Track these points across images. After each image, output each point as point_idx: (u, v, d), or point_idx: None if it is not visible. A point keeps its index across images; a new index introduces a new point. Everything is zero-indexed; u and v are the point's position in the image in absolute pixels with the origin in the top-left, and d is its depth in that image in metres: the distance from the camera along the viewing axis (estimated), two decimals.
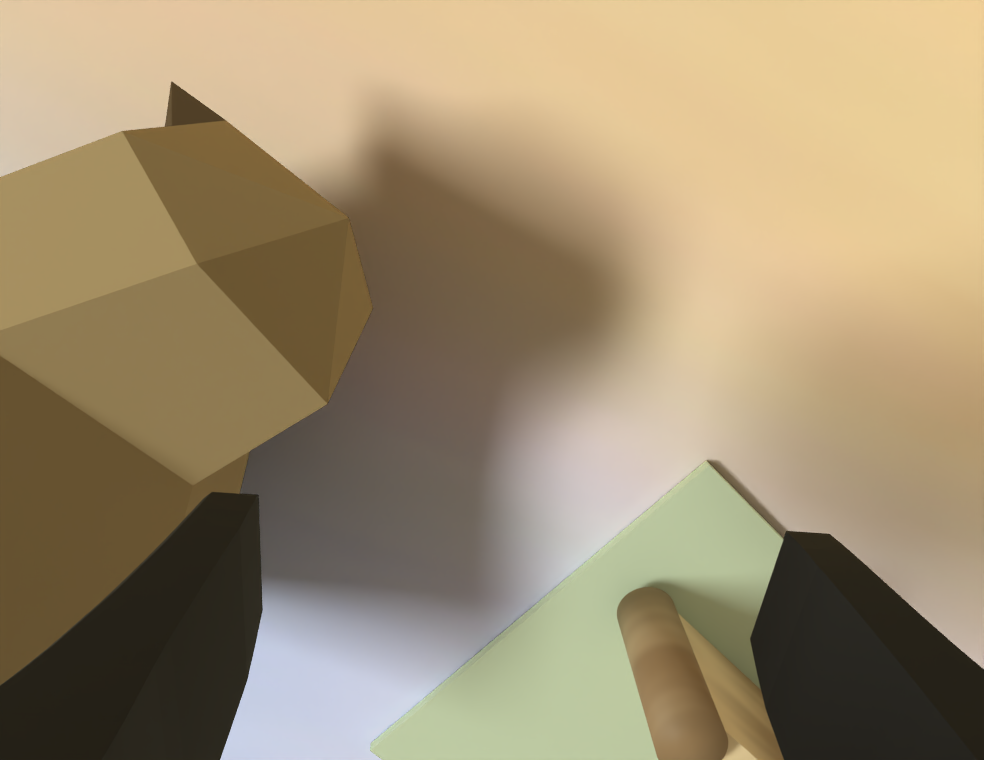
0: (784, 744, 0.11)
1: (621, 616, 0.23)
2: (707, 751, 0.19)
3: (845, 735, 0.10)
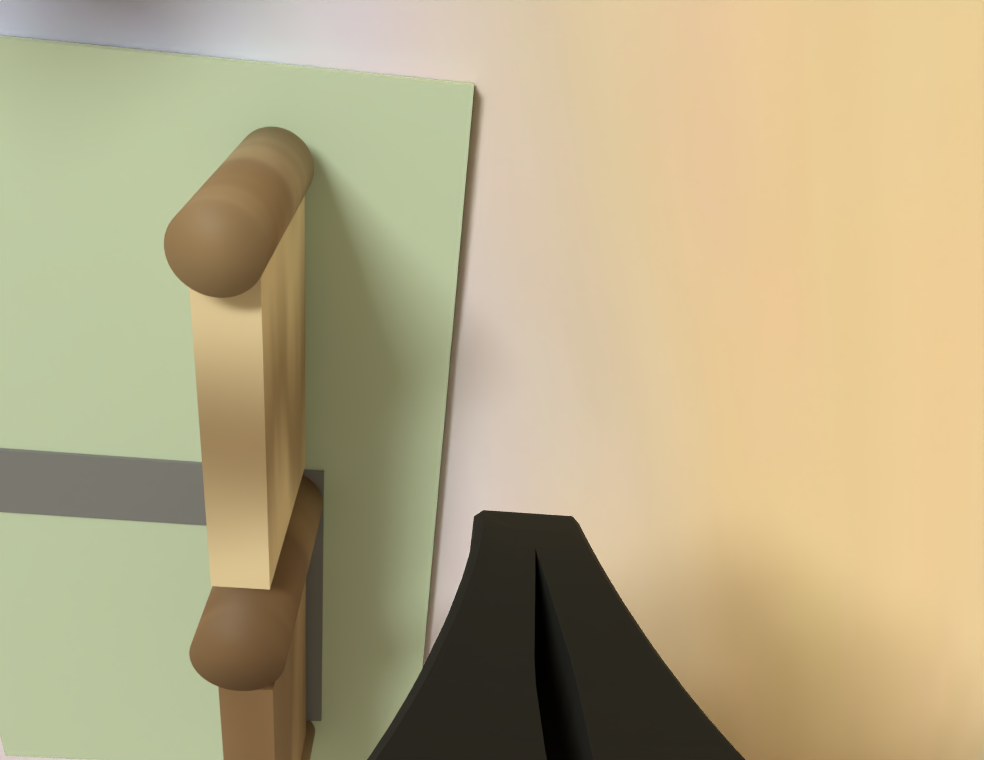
0: None
1: (250, 135, 0.18)
2: (225, 273, 0.14)
3: (542, 719, 0.10)
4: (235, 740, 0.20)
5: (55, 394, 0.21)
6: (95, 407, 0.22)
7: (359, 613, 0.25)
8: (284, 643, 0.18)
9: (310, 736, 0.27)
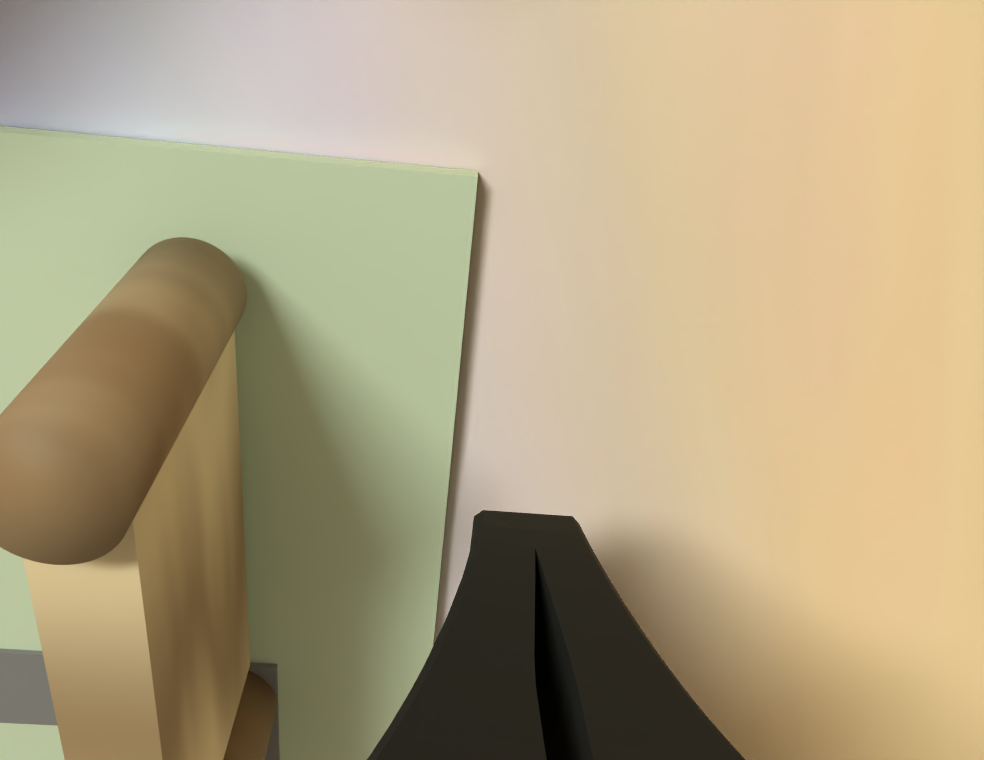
0: None
1: (147, 254, 0.12)
2: (65, 530, 0.09)
3: (542, 719, 0.10)
4: None
5: None
6: None
7: None
8: None
9: None
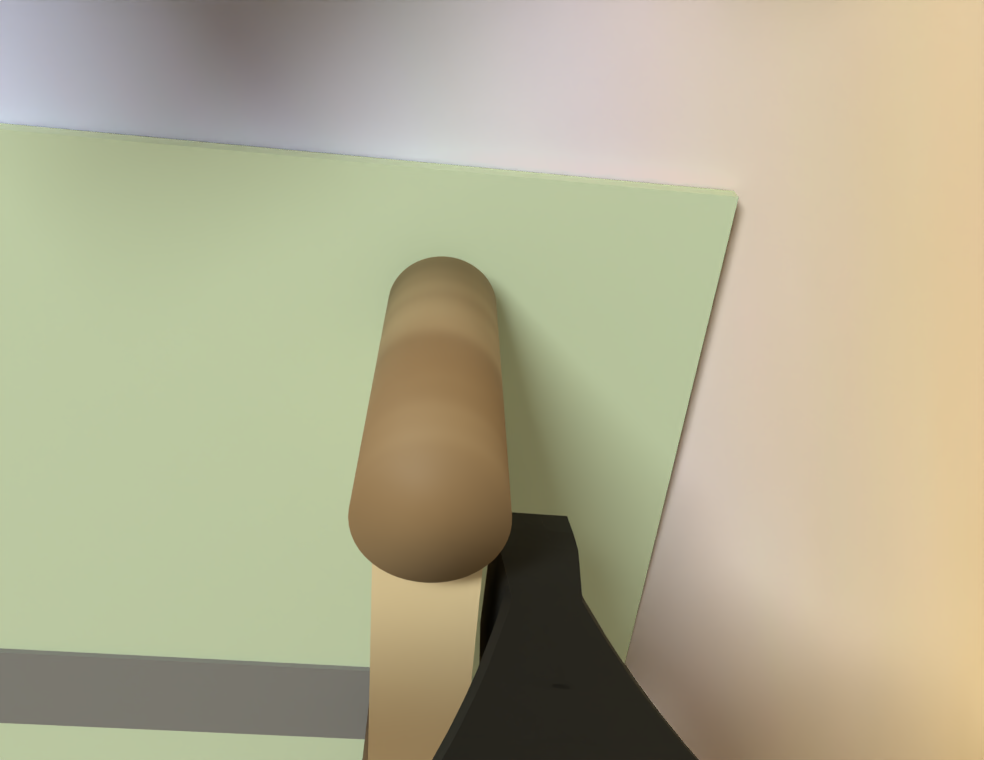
0: None
1: (416, 274, 0.12)
2: (443, 549, 0.09)
3: None
4: None
5: (124, 588, 0.16)
6: (176, 602, 0.16)
7: None
8: None
9: None
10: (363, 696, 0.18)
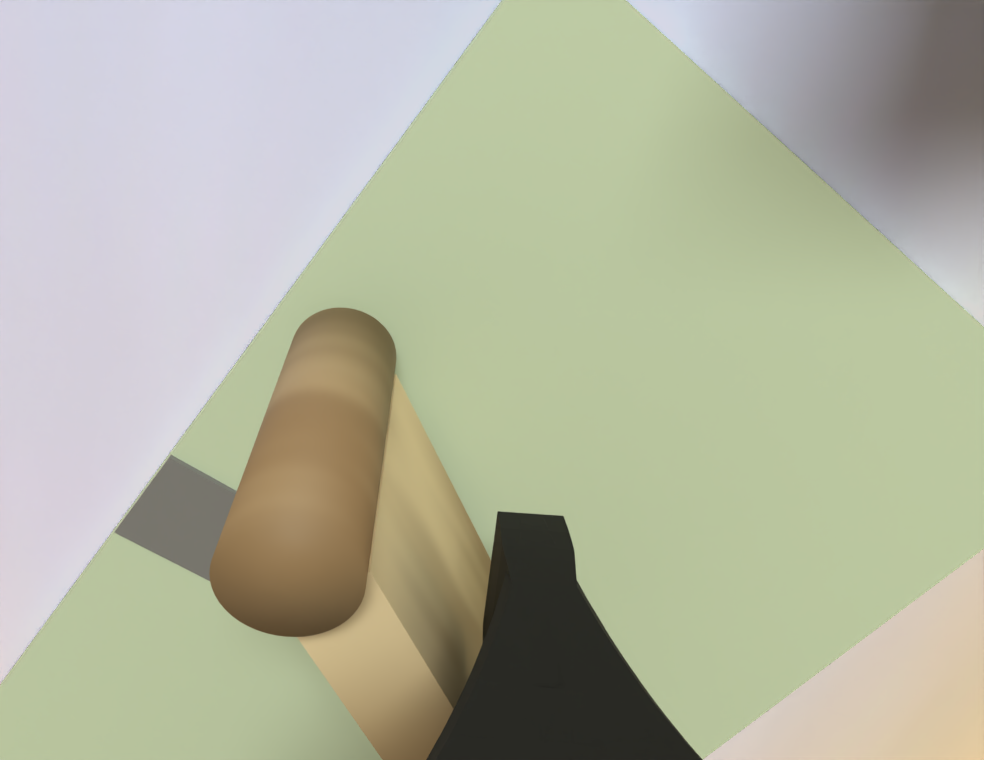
0: None
1: (294, 340, 0.13)
2: (316, 600, 0.09)
3: None
4: None
5: None
6: None
7: None
8: None
9: None
10: None
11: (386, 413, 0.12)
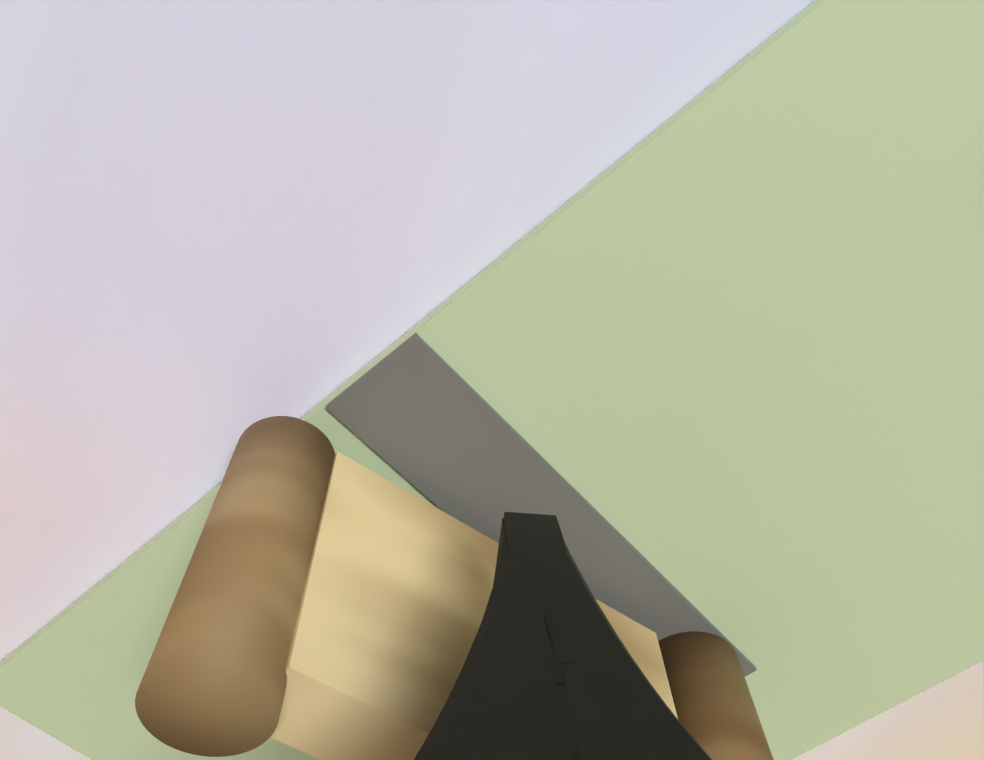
0: None
1: None
2: (241, 715, 0.10)
3: None
4: None
5: (633, 410, 0.15)
6: (650, 454, 0.15)
7: None
8: None
9: None
10: (660, 630, 0.17)
11: (302, 504, 0.12)
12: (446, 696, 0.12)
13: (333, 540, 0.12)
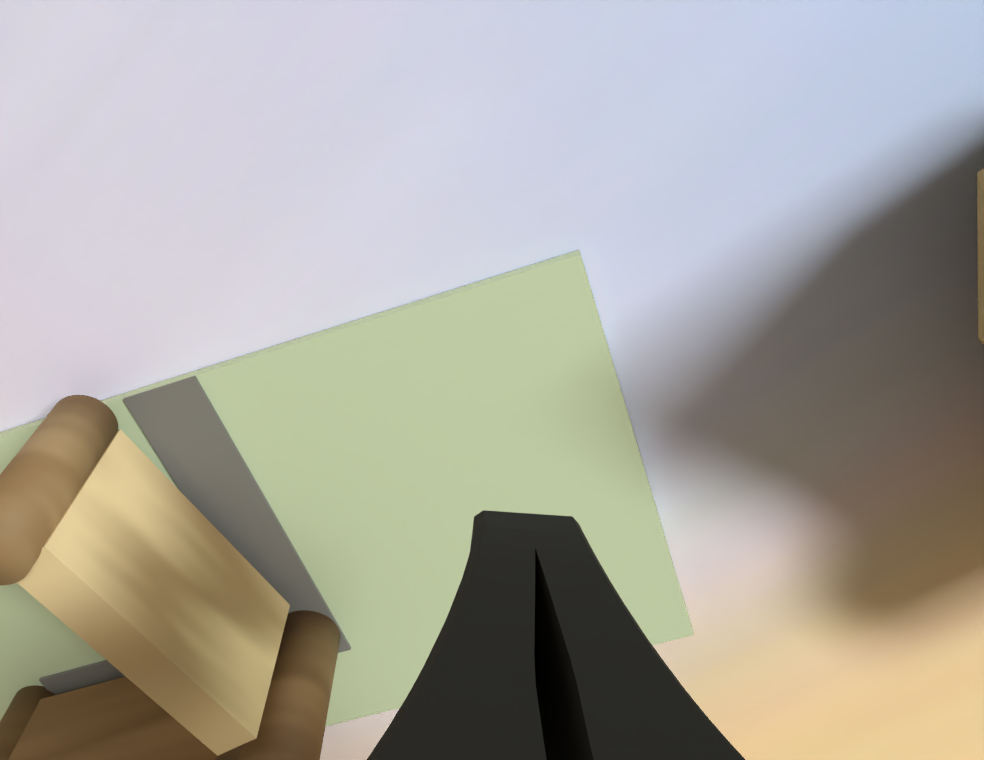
0: None
1: None
2: (8, 563, 0.18)
3: (542, 719, 0.10)
4: None
5: (315, 464, 0.23)
6: (318, 493, 0.24)
7: None
8: None
9: None
10: (296, 605, 0.26)
11: (85, 457, 0.20)
12: (130, 592, 0.20)
13: (96, 484, 0.20)
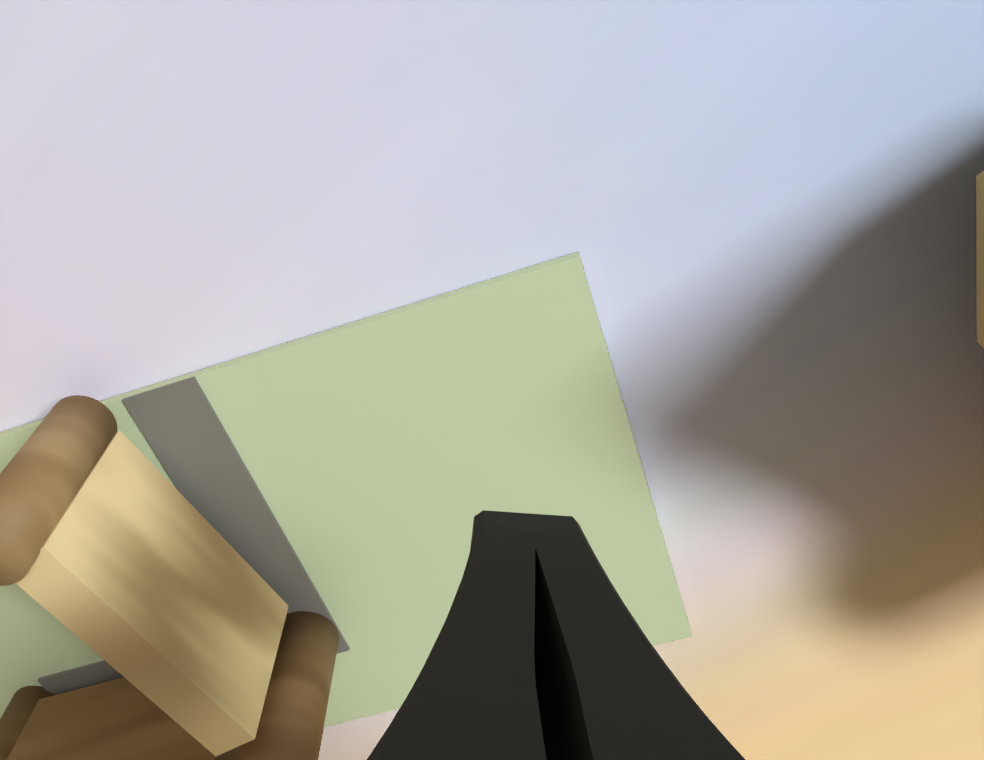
0: None
1: None
2: (7, 564, 0.18)
3: (542, 719, 0.10)
4: None
5: (314, 464, 0.23)
6: (317, 493, 0.24)
7: None
8: None
9: None
10: (295, 606, 0.26)
11: (84, 458, 0.20)
12: (129, 593, 0.20)
13: (95, 484, 0.20)
